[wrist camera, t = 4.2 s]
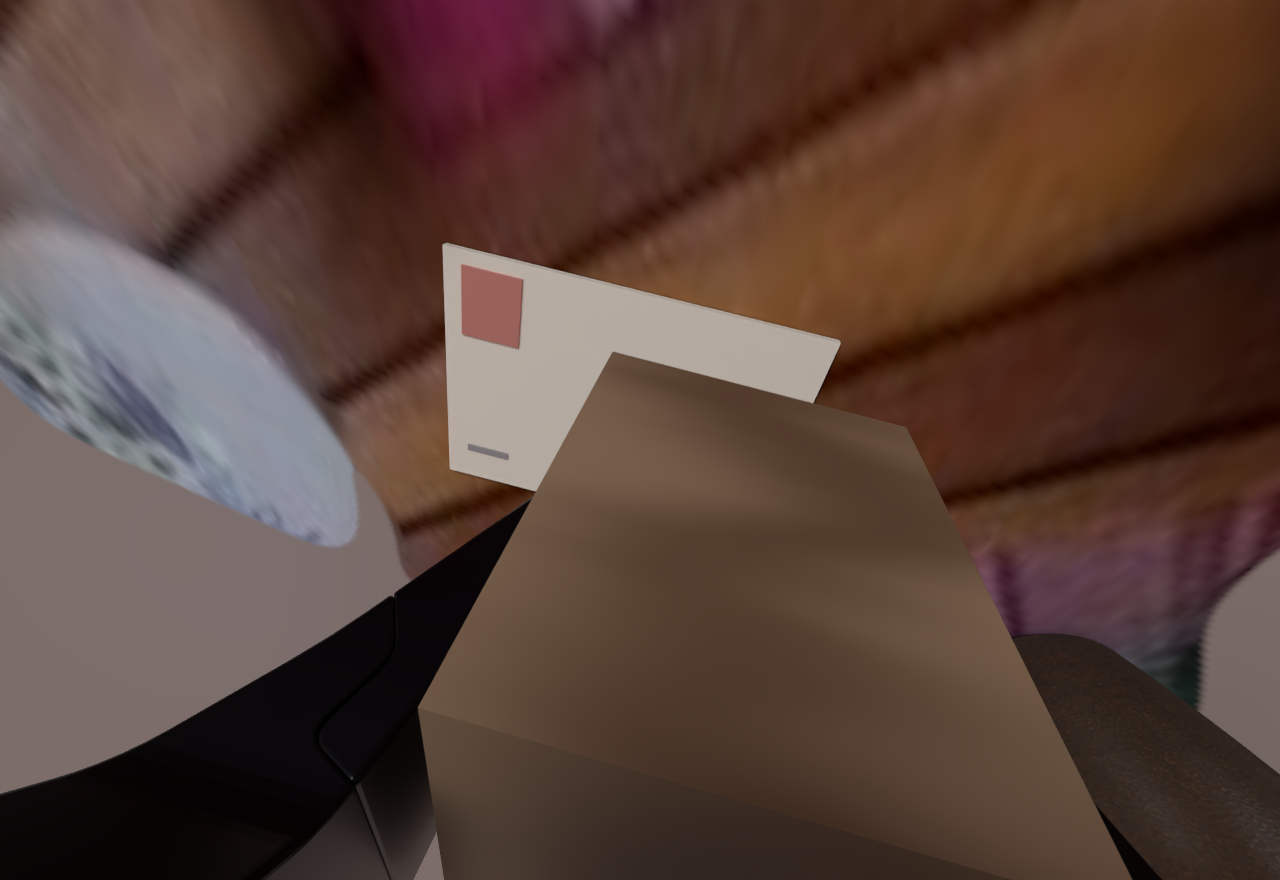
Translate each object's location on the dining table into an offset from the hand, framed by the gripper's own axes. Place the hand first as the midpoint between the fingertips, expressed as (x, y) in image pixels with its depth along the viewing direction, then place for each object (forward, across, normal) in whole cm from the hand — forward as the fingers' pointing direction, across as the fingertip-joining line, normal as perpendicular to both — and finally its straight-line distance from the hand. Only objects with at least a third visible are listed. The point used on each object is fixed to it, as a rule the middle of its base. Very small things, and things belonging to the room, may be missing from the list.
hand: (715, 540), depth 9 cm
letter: (+10, +3, +5) cm, 12 cm away
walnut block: (+1, 0, 0) cm, 1 cm away
